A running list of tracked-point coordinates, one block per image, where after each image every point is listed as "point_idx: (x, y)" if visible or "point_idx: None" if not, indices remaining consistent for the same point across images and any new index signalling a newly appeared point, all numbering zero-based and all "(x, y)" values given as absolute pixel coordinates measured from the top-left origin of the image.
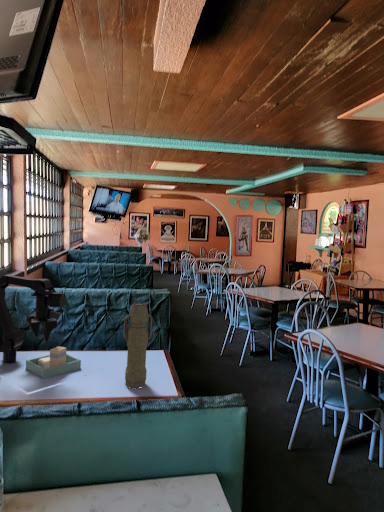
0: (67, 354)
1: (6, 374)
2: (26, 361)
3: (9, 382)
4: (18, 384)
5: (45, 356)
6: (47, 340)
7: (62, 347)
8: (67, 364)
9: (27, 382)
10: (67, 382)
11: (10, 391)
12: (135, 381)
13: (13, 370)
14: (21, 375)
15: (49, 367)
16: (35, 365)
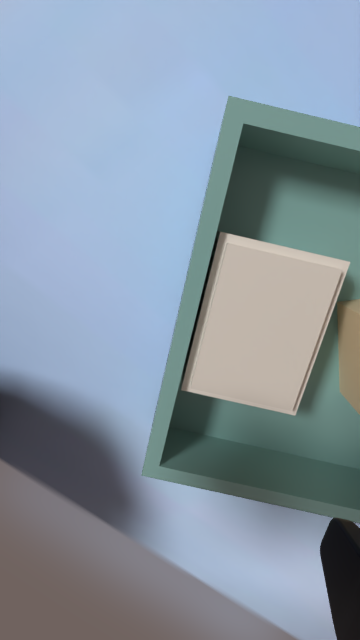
0: (355, 131)
1: (121, 521)
2: (151, 472)
3: (234, 577)
4: (298, 572)
5: (194, 320)
6: (357, 535)
7: None
8: None
9: (321, 537)
10: None
11: (331, 633)
12: None
13: (95, 466)
14: (206, 492)
15: (353, 407)
16: (298, 508)
